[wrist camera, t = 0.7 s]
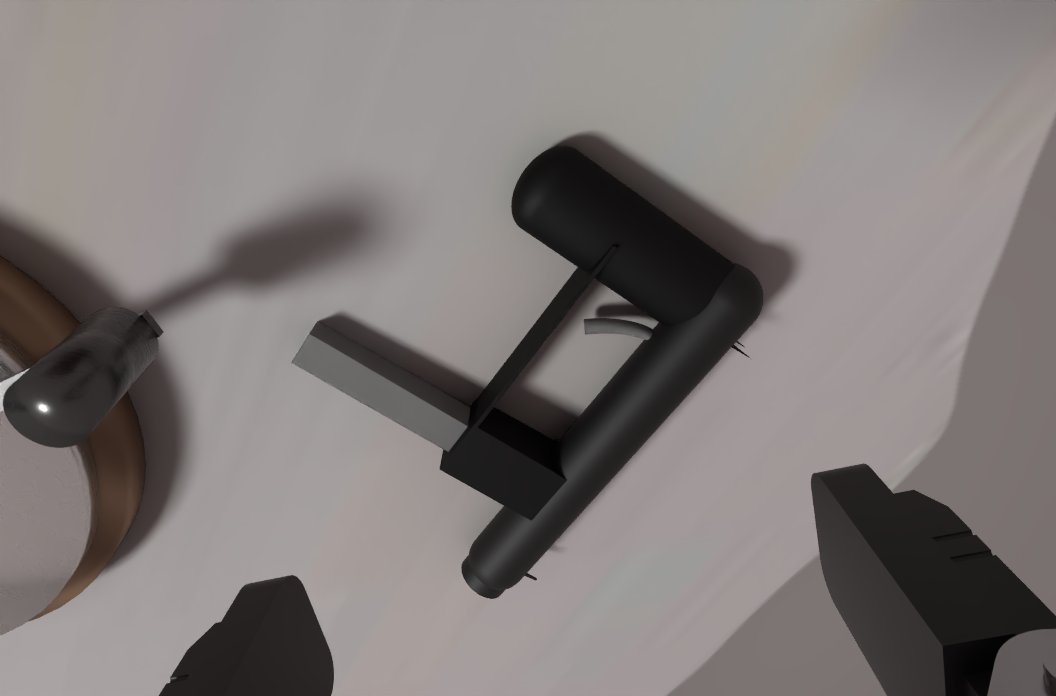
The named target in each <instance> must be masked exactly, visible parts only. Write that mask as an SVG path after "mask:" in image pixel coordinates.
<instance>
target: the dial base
mask: <svg viewBox="0 0 1056 696" xmlns="http://www.w3.org/2000/svg"><path fill="white" fill-rule="evenodd" d="M79 325H80V323H79V322H78V320H77V319H76V318H75V317H74V316H73V315H72V314H71V313H70V312H69V311H68V310H67V309H66V308H65V307H64V306H63V305H62V304H61V303H60V302H59V301H58V300H57V299H55V298H54V297H53V296H52V295H51V294H50V293H48V292H47V291H46V290H45V289H44V288H43V287H42V286H40V285H39V284H38V283H37V282H36V281H35V280H33V279H32V278H31V277H29V276H28V275H26V274H25V273H24V272H22V271H21V270H19V269H18V268H16V267H15V266H14V265H12V264H11V263H9V262H8V261H7V260H5V259H4V258H2V257H1V256H0V330H1V331H2V332H3V333H5V334H6V335H7V336H8V337H10V338H11V339H12V340H13V341H14V342H16V343H17V344H18V345H19V346H20V347H21V348H22V349H23V350H24V351H25V352H26V353H27V354H28V355H29V356H30V357H31V358H32V359H33V360H34V361H35V362H36V363H37V362H38V361H39V360H40V359H41V358H42V357H44V356H45V355H46V354H47V353H48V352H49V351H50V350H52V349H53V348H54V347H55V346H56V345H57V344H59V343H60V342H61V341H62V340H63V339H64V338H65V337H67V336H68V335H69V334H70V333H71V332H72V331H74V330H75V329H76V328H77V327H78V326H79ZM87 440H88V442H89V444H90V448H91V451H92V454H93V458H94V461H95V464H96V467H97V473H98V480H99V488H100V510H99V519H98V523H97V527H96V532H95V536H94V538H93V540H92V543H91V545H90V547H89V549H88V552H87V554H86V556H85V557H84V559H83V560H82V561H81V563H80V564H79V566H78V567H77V569H76V570H75V572H74V573H73V575H72V576H71V578H70V579H69V580H68V582H67V583H66V585H65V586H64V587H63V589H62V590H61V592H60V593H59V595H58V596H57V597H56V598H55V599H54V600H53V601H52V602H51V603H50V604H49V605H48V606H47V607H46V608H45V609H44V610H43V611H42V612H40V613H39V614H37V615H36V616H35V617H33V618H32V619H30V620H29V621H31V620H34V619H37V618H39V617H41V616H43V615H45V614H47V613H49V612H51V611H53V610H55V609H58V608H60V607H61V606H63V605H64V604H66V603H67V602H69V601H70V600H71V599H73V598H74V597H76V596H77V595H79V594H80V593H81V592H82V591H83V590H84V589H85V588H86V587H88V586H89V585H90V584H91V583H92V582H93V581H94V580H95V579H96V578H97V577H98V575H99V574H100V573H101V571H102V570H103V568H104V567H105V566H106V564H107V563H108V561H109V560H110V559H111V557H112V556H113V554H114V552H115V551H116V549H117V548H118V546H119V545H120V543H121V542H122V540H123V538H124V537H125V535H126V534H127V532H128V531H129V529H130V526H131V524H132V522H133V520H134V518H135V516H136V514H137V512H138V509H139V505H140V501H141V498H142V494H143V490H144V480H145V467H146V464H145V454H144V443H143V437H142V434H141V430H140V426H139V422H138V418H137V414H136V412H135V409H134V407H133V405H132V402H131V400H130V397H129V395H128V393H127V392H126V393H125V394H124V395H123V396H122V398H121V399H120V400H119V401H118V402H117V403H116V405H115V406H114V407H113V408H112V409H111V410H110V412H109V413H108V414H107V415H106V416H105V417H104V419H103V420H102V421H101V422H100V423H99V424H98V426H97V427H96V428H95V429H94V430H93V431H92V433H91V434H90V435H89V436H88V437H87ZM27 622H28V621H27Z"/></svg>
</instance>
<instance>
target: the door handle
mask: <svg viewBox="0 0 1056 696" xmlns="http://www.w3.org/2000/svg"><path fill="white" fill-rule="evenodd" d="M511 207H512V215H513V218H514V220H515V222H516V224H517V225H518V226H519V227H520V228H521V229H523V230H524V231H526V232H527V233H529V234H530V235H532V236H533V237H535V238H536V239H538V240H539V241H540V242H542V243H543V244H545V245H546V246H548V247H549V248H551V249H552V250H554V251H555V252H557V253H558V254H560V255H561V256H563V257H564V258H566V259H567V260H568V261H570V262H571V263H573V264H574V265H576V266H577V267H578V268H577V269H576V270H575V272H574V273H573V274H572V276H571V277H570V278H569V280H568V281H567V282H566V284H565V285H564V286H563V287H562V289H561V290H560V291H559V293H558V294H557V295H556V297H555V298H554V299H553V301H552V302H551V303H550V304H549V306H548V307H547V308H546V310H545V311H544V312H543V314H542V315H541V316H540V318H539V319H538V320H537V321H536V323H535V324H534V325H533V327H532V328H531V329H530V331H529V332H528V333H527V335H526V336H525V337H524V338H523V340H522V341H521V342H520V344H519V345H518V346H517V348H516V349H515V350H514V352H513V353H512V354H511V355H510V357H509V358H508V359H507V361H506V362H505V363H504V365H503V366H502V367H501V369H500V370H499V371H498V372H497V374H496V375H495V376H494V378H493V379H492V380H491V382H490V383H489V384H488V386H487V387H486V388H485V389H484V391H483V392H482V393H481V395H480V396H479V397H478V398H477V399H476V400H475V401H474V403H473V404H472V405H471V407H468V406H467V405H465V404H463V403H461V402H460V401H458V400H456V399H455V398H453V397H451V396H450V395H448V394H446V393H445V392H443V391H441V390H440V389H438V388H436V387H434V386H433V385H431V384H429V383H428V382H426V381H424V380H423V379H421V378H419V377H417V376H415V375H414V374H412V373H410V372H408V371H406V370H405V369H403V368H401V367H399V366H397V365H396V364H394V363H392V362H390V361H388V360H386V359H385V358H383V357H381V356H379V355H377V354H376V353H374V352H372V351H370V350H368V349H367V348H365V347H363V346H361V345H359V344H358V343H356V342H354V341H352V340H350V339H348V338H347V337H345V336H343V335H341V334H339V333H338V332H336V331H334V330H332V329H330V328H329V327H327V326H325V325H323V324H321V323H320V322H318V321H317V323H316V324H315V326H314V327H313V329H312V330H311V332H310V333H309V335H308V337H307V338H306V340H305V341H304V343H303V345H302V346H301V348H300V349H299V351H298V353H297V354H296V356H295V357H294V359H293V361H292V362H291V363H293V364H295V365H296V366H298V367H300V368H302V369H303V370H305V371H307V372H309V373H310V374H312V375H314V376H316V377H317V378H319V379H321V380H323V381H324V382H326V383H328V384H330V385H331V386H333V387H335V388H337V389H338V390H340V391H342V392H344V393H345V394H347V395H349V396H351V397H352V398H354V399H356V400H358V401H360V402H361V403H363V404H365V405H367V406H368V407H370V408H372V409H374V410H375V411H377V412H379V413H381V414H382V415H384V416H386V417H388V418H389V419H391V420H393V421H395V422H396V423H398V424H400V425H402V426H403V427H405V428H407V429H409V430H410V431H412V432H414V433H416V434H417V435H419V436H421V437H423V438H424V439H426V440H428V441H430V442H431V443H433V444H435V445H437V446H439V447H440V448H442V449H443V454H442V459H441V464H440V470H442V471H444V472H445V473H447V474H449V475H451V476H452V477H454V478H456V479H458V480H460V481H461V482H463V483H465V484H467V485H468V486H470V487H472V488H474V489H476V490H477V491H479V492H481V493H483V494H485V495H486V496H488V497H490V498H492V499H493V500H495V501H497V502H499V503H501V504H502V505H504V507H503V508H502V509H501V510H500V511H499V513H498V514H497V515H496V516H495V517H494V518H493V520H492V521H491V522H490V523H489V524H488V526H487V527H486V528H485V529H484V530H483V532H482V533H481V534H480V535H479V536H478V537H477V539H476V540H475V541H474V543H473V544H472V546H471V549H470V552H469V555H468V556H467V558H466V559H465V560H464V561H463V563H462V574H463V577H464V579H465V581H466V583H467V584H468V585H469V586H470V588H471V589H472V590H474V591H475V592H476V593H477V594H479V595H481V596H483V597H485V598H490V599H494V598H497V597H499V596H500V595H501V594H502V593H503V592H504V591H505V590H506V589H508V588H511V587H513V586H514V585H516V584H517V583H518V582H519V581H520V580H521V579H522V578H523V577H524V576H527V577H529V578H532V579H534V580H537V578H535V577H533V576H532V575H530V574H528V573H527V572H528V571H529V570H530V569H531V568H532V567H533V566H534V564H535V563H536V562H537V561H538V560H539V559H540V558H541V557H542V556H543V554H544V553H545V552H546V551H547V550H548V549H549V548H550V547H551V546H552V545H553V543H554V542H555V541H556V540H557V539H558V538H559V537H560V536H561V535H562V533H563V532H564V531H565V530H566V529H567V528H568V527H569V526H570V525H571V524H572V522H573V521H574V520H575V519H576V518H577V517H578V516H579V515H580V514H581V512H582V511H583V510H584V509H585V508H586V507H587V506H588V505H589V504H590V503H591V501H592V500H593V499H594V498H595V497H596V496H597V495H598V494H599V493H600V492H601V490H602V489H603V488H604V487H605V486H606V485H607V484H608V483H609V482H610V480H611V479H612V478H613V477H614V476H615V475H616V474H617V473H618V472H619V471H620V469H621V468H622V467H623V466H624V465H625V464H626V463H627V462H628V461H629V459H630V458H631V457H632V456H633V455H634V454H635V453H636V452H637V451H638V450H639V448H640V447H641V446H642V445H643V444H644V443H645V442H646V441H647V440H648V438H649V437H650V436H651V435H652V434H653V433H654V432H655V431H656V430H657V429H658V427H659V426H660V425H661V424H662V423H663V422H664V421H665V420H666V419H667V417H668V416H669V415H670V414H671V413H672V412H673V411H674V410H675V409H676V408H677V406H678V405H679V404H680V403H681V402H682V401H683V400H684V399H685V398H686V396H687V395H688V394H689V393H690V392H691V391H692V390H693V389H694V388H695V387H696V385H697V384H698V383H699V382H700V381H701V380H702V379H703V378H704V377H705V376H706V374H707V373H708V372H709V371H710V370H711V369H712V368H713V367H714V366H715V364H716V363H717V362H718V361H719V360H720V359H721V358H722V357H723V356H724V355H725V353H726V352H727V351H728V350H729V349H730V348H731V347H732V348H734V349H736V350H737V351H739V352H741V353H742V354H744V355H746V354H745V353H743V352H742V351H741V350H740V349H738V348H737V347H736V346H735V345H734V343H735V342H737V343H738V344H740V343H739V342H738V341H737V340H738V339H739V338H740V337H741V336H742V335H743V334H744V332H745V331H746V330H747V329H748V328H749V327H750V326H751V325H752V324H753V322H754V321H755V320H756V319H757V317H758V316H759V314H760V312H761V309H762V306H763V290H762V287H761V284H760V282H759V280H758V279H757V277H756V276H755V275H754V274H753V273H752V272H751V271H750V270H748V269H747V268H745V267H743V266H741V265H738V264H734V263H732V262H730V261H729V260H727V259H726V258H725V257H723V256H722V255H721V254H719V253H718V252H716V251H715V250H714V249H712V248H711V247H710V246H708V245H707V244H705V243H704V242H703V241H701V240H700V239H699V238H697V237H696V236H694V235H693V234H692V233H690V232H689V231H688V230H686V229H685V228H683V227H682V226H681V225H679V224H678V223H677V222H675V221H674V220H672V219H671V218H670V217H668V216H667V215H666V214H664V213H663V212H661V211H660V210H659V209H657V208H656V207H655V206H653V205H652V204H650V203H649V202H648V201H646V200H645V199H644V198H642V197H641V196H639V195H638V194H637V193H635V192H634V191H633V190H631V189H630V188H628V187H627V186H626V185H624V184H623V183H622V182H620V181H619V180H617V179H616V178H615V177H613V176H612V175H611V174H609V173H608V172H606V171H605V170H604V169H602V168H601V167H600V166H598V165H597V164H595V163H594V162H593V161H591V160H590V159H588V158H587V157H586V156H584V155H583V154H582V153H580V152H579V151H577V150H576V149H575V148H572V147H569V146H557V147H553V148H551V149H548V150H546V151H545V152H543V153H541V154H540V155H539V156H537V157H536V158H535V159H534V160H533V161H532V162H531V163H530V164H529V165H528V166H527V167H526V169H525V170H524V171H523V173H522V175H521V176H520V178H519V180H518V182H517V184H516V186H515V189H514V192H513V197H512V205H511ZM594 278H595V279H597V280H598V281H599V282H601V283H602V284H604V285H605V286H607V287H608V288H610V289H611V290H613V291H614V292H616V293H617V294H619V295H620V296H622V297H623V298H625V299H626V300H627V301H629V302H630V303H632V304H633V305H635V306H636V307H638V308H639V309H641V310H642V311H644V312H645V313H647V314H648V315H650V316H651V317H653V318H654V319H656V320H657V321H658V322H659V323H658V324H657V325H656V327H655V328H654V329H651V328H649V327H647V326H645V325H642V324H639V323H636V322H632V321H627V320H620V319H609V318H594V319H584V327H585V334H601V333H609V334H623V335H630V336H635V337H639V338H642V339H645V340H644V341H643V342H642V343H641V344H640V346H639V347H638V348H637V349H636V350H635V351H634V353H633V354H632V355H631V356H630V357H629V359H628V360H627V361H626V362H625V363H624V365H623V366H622V367H621V368H620V369H619V370H618V372H617V373H616V374H615V375H614V376H613V378H612V379H611V380H610V381H609V382H608V383H607V385H606V386H605V387H604V388H603V389H602V391H601V392H600V393H599V394H598V395H597V396H596V398H595V399H594V400H593V401H592V402H591V404H590V405H589V406H588V407H587V408H586V410H585V411H584V412H583V413H582V414H581V415H580V417H579V418H578V419H577V420H576V421H575V423H574V424H573V425H572V426H571V427H570V428H569V430H568V431H567V432H566V433H565V434H564V436H563V437H562V438H561V439H560V440H559V441H558V442H556V441H554V440H552V439H551V438H549V437H547V436H545V435H543V434H542V433H540V432H538V431H536V430H534V429H533V428H531V427H529V426H527V425H526V424H524V423H522V422H520V421H518V420H517V419H515V418H513V417H511V416H509V415H508V414H506V413H504V412H502V411H500V410H499V409H497V408H495V407H494V406H495V405H496V403H497V402H498V401H499V400H500V398H501V397H502V396H503V394H504V393H505V392H506V391H507V389H508V388H509V387H510V385H511V384H512V383H513V382H514V380H515V379H516V378H517V376H518V375H519V374H520V373H521V371H522V370H523V369H524V368H525V366H526V365H527V364H528V362H529V361H530V360H531V359H532V357H533V356H534V355H535V353H536V352H537V351H538V350H539V348H540V347H541V346H542V344H543V343H544V342H545V341H546V339H547V338H548V337H549V335H550V334H551V333H552V332H553V330H554V329H555V328H556V327H557V325H558V324H559V323H560V321H561V320H562V319H563V318H564V316H565V315H566V314H567V312H568V311H569V310H570V309H571V307H572V306H573V305H574V303H575V302H576V301H577V300H578V298H579V297H580V296H581V294H582V293H583V292H584V291H585V289H586V288H587V287H588V285H589V284H590V283H591V282H592V280H593V279H594ZM740 345H742V344H740ZM742 346H743V345H742ZM743 347H744V346H743ZM746 356H747V355H746ZM747 357H749V356H747ZM749 358H750V357H749Z"/></svg>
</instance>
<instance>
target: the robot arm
mask: <svg viewBox="0 0 1056 696" xmlns="http://www.w3.org/2000/svg"><path fill="white" fill-rule="evenodd" d="M811 489H812V497H813V505H814V513H815V521H816V529H817V536H818V544H819V552H820V560H821V565H822V570H823V574H824V578H825V581H826V584H827V587H828V590H829V593H830V595H831V597H832V599H833V602H834V604H835V606H836V608H837V609H838V611H839V613H840V614H841V616H842V618H843V620H844V621H845V623H846V625H847V627H848V628H849V630H850V632H851V634H852V635H853V637H854V639H855V641H856V642H857V644H858V646H859V647H860V649H861V651H862V653H863V654H864V656H865V658H866V660H867V661H868V663H869V665H870V667H871V668H872V670H873V672H874V674H875V675H876V677H877V679H878V681H879V682H880V684H881V686H882V688H883V689H884V691H885V693H886V694H887V696H1056V616H1055V615H1054V614H1053V613H1052V612H1051V611H1050V610H1049V609H1048V608H1047V607H1046V606H1045V605H1044V603H1043V602H1041V600H1040V599H1039V598H1038V597H1036V595H1035V594H1034V593H1033V592H1032V591H1031V590H1030V589H1029V588H1028V587H1027V586H1026V585H1025V584H1024V583H1023V582H1022V581H1021V580H1020V579H1019V578H1018V577H1017V576H1016V575H1015V574H1014V573H1013V572H1012V571H1011V570H1010V569H1009V568H1008V567H1007V566H1006V565H1005V564H1004V563H1003V562H1002V561H1001V560H1000V559H999V558H998V557H997V556H996V555H994V556H993V555H992V553H991V550H990V549H989V548H988V547H987V546H986V545H985V544H984V543H983V542H982V541H981V540H980V539H979V538H978V536H977V535H973V534H972V531H971V529H970V528H969V527H968V526H967V525H966V524H965V523H964V522H963V521H962V520H961V519H960V518H959V517H958V516H957V515H956V514H955V513H954V512H953V511H952V510H951V509H950V508H949V507H948V506H946V505H944V504H941V503H939V502H938V501H935V500H933V499H931V498H929V497H927V496H925V495H923V494H921V493H919V492H917V491H915V490H911V491H905V492H900V493H895V494H893V493H892V492H891V490H890V489H889V488H888V487H887V486H886V485H885V484H884V483H883V481H882V480H881V479H880V478H879V477H878V476H877V475H876V473H875V472H874V471H873V470H872V469H871V468H870V467H869V466H868V465H867V464H859V465H854V466H849V467H844V468H839V469H834V470H829V471H824V472H819V473H814V474H813V475H812V478H811ZM170 680H171V681H170V683H167V684H166V685H165V687H164V688H163V690H162V691H161V693H160V695H159V696H331V694H332V689H333V682H334V668H333V661H332V656H331V652H330V649H329V647H328V644H327V642H326V639H325V637H324V635H323V632H322V630H321V627H320V625H319V622H318V620H317V617H316V615H315V613H314V610H313V608H312V605H311V603H310V600H309V598H308V595H307V593H306V590H305V588H304V586H303V584H302V582H301V581H300V580H299V579H298V578H297V577H296V576H293V575H291V576H285V577H280V578H275V579H270V580H265V581H260V582H255V583H250V584H247V585H245V586H244V587H242V589H241V590H240V592H239V593H238V595H237V597H236V598H235V600H234V601H233V603H232V605H231V606H230V608H229V610H228V611H227V613H226V615H225V616H224V618H223V620H222V621H221V622H219V623H215V624H214V625H213V626H212V627H211V628H210V629H209V630H208V631H207V632H206V633H205V634H204V635H203V636H202V637H201V638H200V639H199V640H197V641H196V642H195V643H194V644H193V645H192V646H191V647H190V648H189V649H188V650H187V652H186V653H185V655H184V657H183V658H182V660H181V661H180V663H179V665H178V666H177V668H176V669H175V671H174V672H173V674H172V676H171V677H170Z"/></svg>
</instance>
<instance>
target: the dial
mask: <svg viewBox="0 0 1056 696" xmlns="http://www.w3.org/2000/svg"><path fill="white" fill-rule="evenodd" d="M162 333H163V330H162V329H161V328H160V327H159V325H158V324H157V323H156V321H155V320H154V319H153V318H152V316H151V315H150V314H149V313H148V311H147V310H145V311H143V312H141V313H139V314H136V313H134V312H132V311H129V310H126V309H122V308H116V307H111V308H104V309H101V310H98V311H96V312H95V313H93V314H92V315H91V316H90V317H88V318H87V319H86V320H85V321H84V322H83V323H82V324H80V325H79V326H78V327H77V328H76V329H75V330H74V331H72V332H71V333H70V334H69V335H68V336H67V337H65V338H64V339H63V340H62V341H61V342H60V343H59V344H57V345H56V346H55V347H54V348H53V349H52V350H50V351H49V352H48V353H47V354H46V355H45V356H44V357H42V358H41V359H40V360H39V361H38V362H37V363H36V362H35V361H34V360H33V359H32V358H31V357H30V356H29V355H28V354H27V353H26V352H25V351H24V350H23V349H22V348H21V347H20V346H19V345H18V344H17V343H16V342H14V341H13V340H12V339H11V338H10V337H8V336H7V335H6V334H5V333H3V332H2V331H1V330H0V635H3V634H5V633H7V632H9V631H11V630H13V629H15V628H17V627H19V626H21V625H23V624H24V623H26V622H27V621H29V620H30V619H32V618H33V617H35V616H36V615H37V614H39V613H40V612H42V611H43V610H44V609H45V608H46V607H47V606H48V605H49V604H50V603H51V602H52V601H53V600H54V599H55V598H56V597H57V596H58V595H59V593H60V592H61V590H62V589H63V587H64V586H65V585H66V583H67V582H68V580H69V579H70V578H71V576H72V575H73V573H74V572H75V570H76V569H77V567H78V566H79V564H80V563H81V561H82V560H83V559H84V557H85V556H86V554H87V552H88V549H89V547H90V545H91V543H92V540H93V538H94V536H95V532H96V527H97V523H98V519H99V510H100V488H99V480H98V473H97V467H96V464H95V461H94V458H93V454H92V451H91V448H90V444H89V442H88V440H87V437H88V436H89V435H90V434H91V433H92V431H93V430H94V429H95V428H96V427H97V426H98V424H99V423H100V422H101V421H102V420H103V419H104V417H105V416H106V415H107V414H108V413H109V412H110V410H111V409H112V408H113V407H114V406H115V405H116V403H117V402H118V401H119V400H120V399H121V398H122V396H123V395H124V394H125V393H126V392H127V391H128V389H129V388H130V387H131V386H132V385H133V384H134V382H135V381H136V380H137V379H138V378H139V377H140V375H141V374H142V373H143V372H144V371H145V370H146V368H147V367H148V366H149V365H150V364H151V363H152V361H153V360H154V359H155V357H156V355H157V352H158V339H157V338H158V337H160V336H161V334H162Z"/></svg>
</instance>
